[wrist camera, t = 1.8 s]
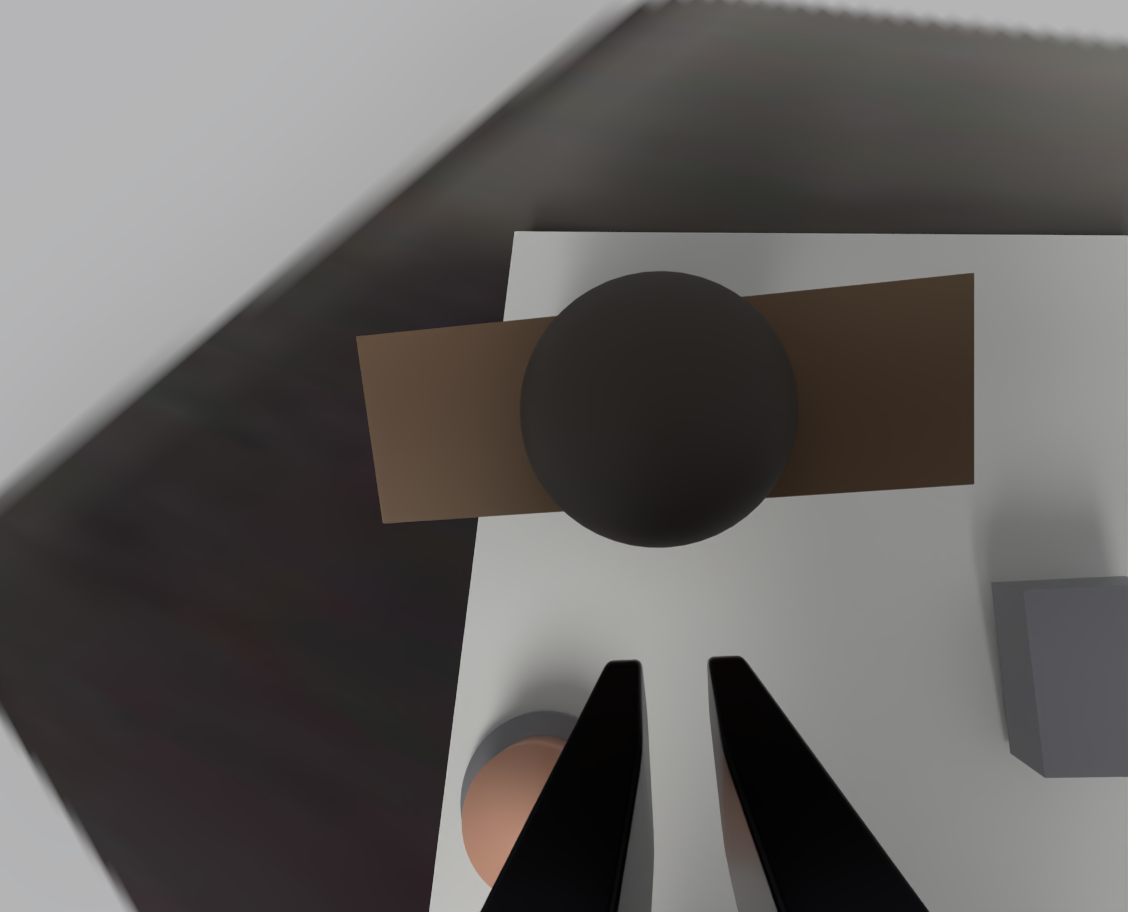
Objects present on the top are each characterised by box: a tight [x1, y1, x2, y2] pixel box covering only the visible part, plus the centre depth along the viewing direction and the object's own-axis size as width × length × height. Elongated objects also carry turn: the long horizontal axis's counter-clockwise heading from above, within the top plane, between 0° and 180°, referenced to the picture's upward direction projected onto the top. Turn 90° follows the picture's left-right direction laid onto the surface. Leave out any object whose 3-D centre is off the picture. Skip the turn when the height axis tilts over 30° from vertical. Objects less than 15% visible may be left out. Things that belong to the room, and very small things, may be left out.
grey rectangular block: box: [991, 576, 1128, 778], centre depth 17 cm, size 4×3×2 cm
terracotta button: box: [461, 735, 567, 888], centre depth 18 cm, size 4×4×2 cm
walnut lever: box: [356, 271, 974, 548], centre depth 14 cm, size 3×6×17 cm, turn 93°
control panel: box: [429, 231, 1128, 912], centre depth 20 cm, size 22×20×2 cm
